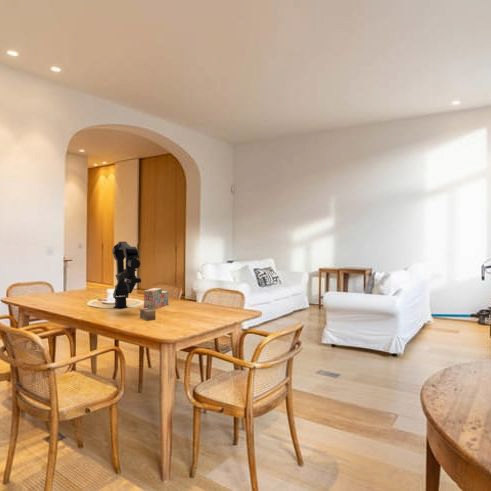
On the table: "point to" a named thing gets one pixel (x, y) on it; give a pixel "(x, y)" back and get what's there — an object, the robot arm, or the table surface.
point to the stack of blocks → (155, 298)
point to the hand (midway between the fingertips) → (130, 293)
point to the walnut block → (147, 314)
